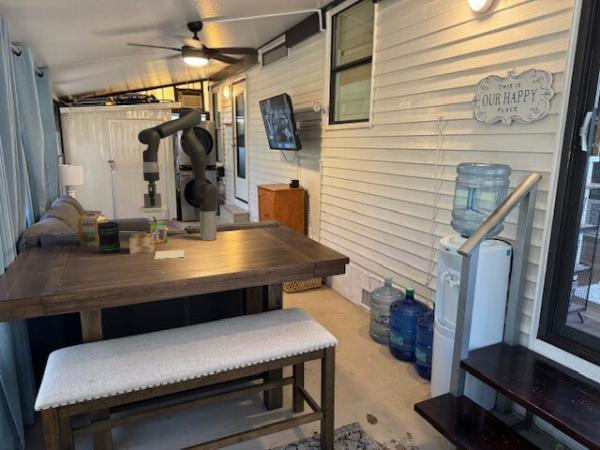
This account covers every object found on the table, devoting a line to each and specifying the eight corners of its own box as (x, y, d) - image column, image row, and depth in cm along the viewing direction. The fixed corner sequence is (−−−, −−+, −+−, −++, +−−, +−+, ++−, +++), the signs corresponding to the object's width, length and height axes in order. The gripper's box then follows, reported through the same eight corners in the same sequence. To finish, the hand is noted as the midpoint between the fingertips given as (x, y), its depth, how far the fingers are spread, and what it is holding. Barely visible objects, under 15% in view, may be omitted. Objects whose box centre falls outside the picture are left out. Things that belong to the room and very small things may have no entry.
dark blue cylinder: (112, 255, 202) (110, 226, 200) (95, 253, 204) (92, 225, 201) (124, 250, 212) (122, 222, 209) (108, 249, 214) (105, 221, 211)
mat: (184, 250, 212) (184, 250, 212) (184, 257, 199) (183, 256, 199) (156, 252, 209) (156, 251, 209) (154, 259, 195) (154, 258, 195)
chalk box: (167, 242, 231) (166, 217, 228) (150, 244, 226) (149, 218, 223) (163, 239, 238) (162, 214, 235) (147, 240, 233) (145, 215, 231)
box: (154, 247, 218) (153, 233, 216) (152, 252, 207) (152, 237, 206) (132, 248, 215) (131, 234, 213) (130, 254, 204) (129, 238, 203)
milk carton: (109, 242, 229) (106, 209, 225) (98, 246, 218) (95, 212, 215) (91, 241, 230) (89, 208, 226) (80, 246, 219) (77, 211, 216)
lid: (166, 209, 211) (165, 192, 209) (165, 212, 199) (164, 194, 197) (142, 209, 208) (141, 192, 206) (139, 213, 196) (138, 195, 195)
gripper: (157, 172, 194) (159, 207, 197) (160, 170, 207) (162, 203, 211) (141, 172, 192) (143, 207, 195) (144, 170, 205) (147, 203, 209)
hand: (153, 205), depth 203 cm, fingers closed on lid, 3 cm apart
